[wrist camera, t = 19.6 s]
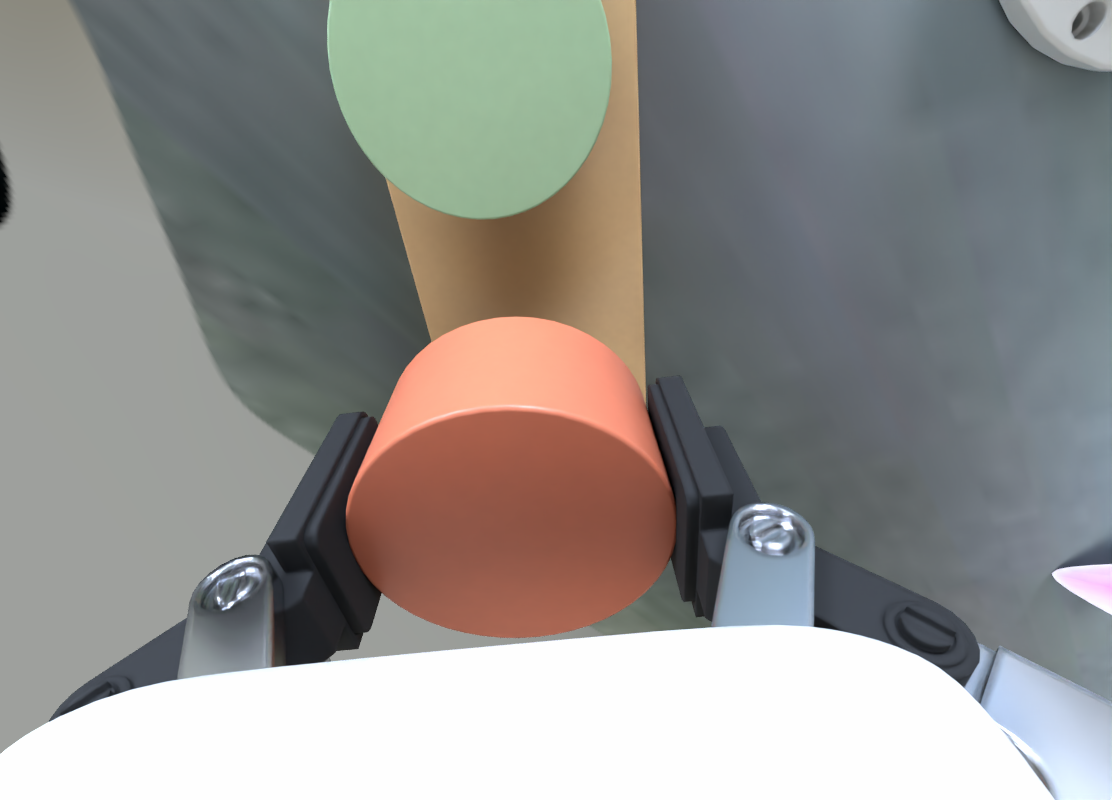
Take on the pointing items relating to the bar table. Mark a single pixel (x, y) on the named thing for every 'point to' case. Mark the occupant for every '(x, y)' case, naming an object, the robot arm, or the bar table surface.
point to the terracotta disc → (513, 484)
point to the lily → (1089, 583)
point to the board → (550, 237)
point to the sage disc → (472, 95)
